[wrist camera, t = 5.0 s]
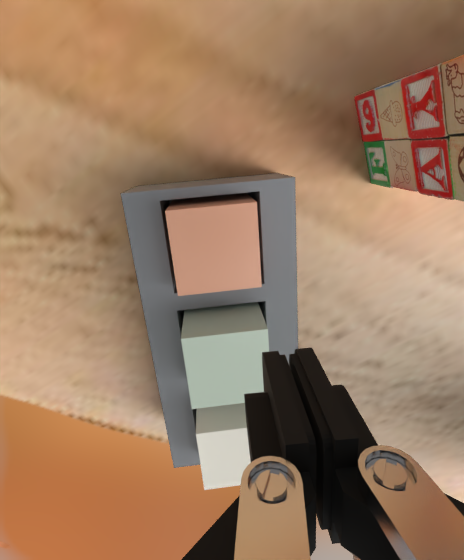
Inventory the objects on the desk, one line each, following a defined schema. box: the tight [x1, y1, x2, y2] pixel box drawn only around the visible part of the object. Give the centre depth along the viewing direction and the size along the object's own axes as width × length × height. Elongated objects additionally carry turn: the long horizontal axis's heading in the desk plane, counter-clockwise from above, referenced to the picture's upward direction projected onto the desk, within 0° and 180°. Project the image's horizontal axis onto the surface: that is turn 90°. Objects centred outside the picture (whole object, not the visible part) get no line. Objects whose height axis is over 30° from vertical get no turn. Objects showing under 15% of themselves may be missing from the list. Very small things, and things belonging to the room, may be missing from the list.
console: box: [121, 173, 298, 468], centre depth 25 cm, size 10×21×5 cm, turn 5°
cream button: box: [196, 403, 251, 490], centre depth 25 cm, size 5×5×5 cm
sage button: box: [181, 302, 269, 409], centre depth 23 cm, size 5×5×5 cm
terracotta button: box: [165, 193, 262, 296], centre depth 21 cm, size 5×5×5 cm
